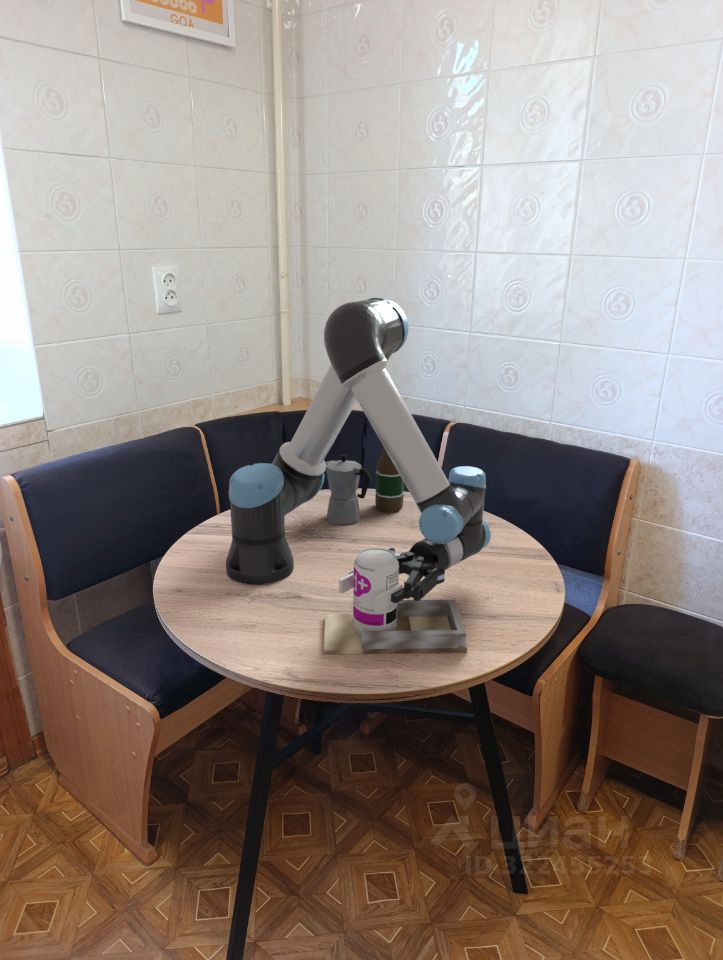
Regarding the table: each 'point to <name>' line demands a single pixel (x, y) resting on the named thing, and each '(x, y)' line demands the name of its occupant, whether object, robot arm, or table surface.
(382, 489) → the beer bottle
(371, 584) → the supplement can
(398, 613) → the rectangular tray
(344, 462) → the coffeepot
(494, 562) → the table surface
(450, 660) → the table surface
